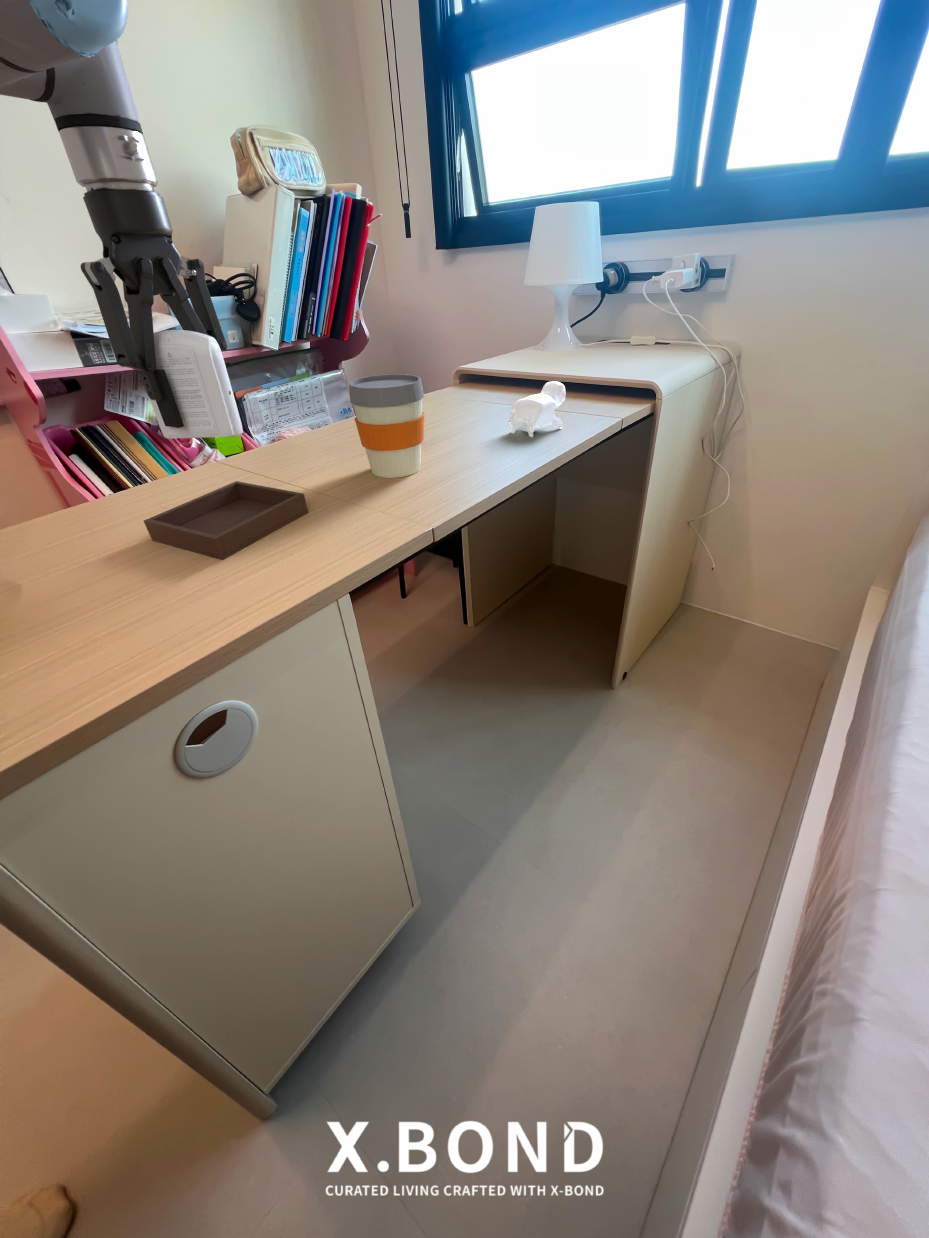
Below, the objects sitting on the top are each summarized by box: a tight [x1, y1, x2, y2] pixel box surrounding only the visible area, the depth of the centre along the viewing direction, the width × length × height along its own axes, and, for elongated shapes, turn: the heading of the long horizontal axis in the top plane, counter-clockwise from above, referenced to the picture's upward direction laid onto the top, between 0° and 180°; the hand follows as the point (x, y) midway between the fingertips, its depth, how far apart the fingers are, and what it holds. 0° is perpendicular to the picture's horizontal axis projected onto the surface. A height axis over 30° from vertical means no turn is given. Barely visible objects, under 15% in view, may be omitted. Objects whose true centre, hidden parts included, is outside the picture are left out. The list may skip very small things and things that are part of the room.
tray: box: [143, 480, 309, 561], centre depth 74 cm, size 17×15×3 cm
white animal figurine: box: [507, 380, 567, 438], centre depth 109 cm, size 9×8×15 cm
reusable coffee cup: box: [348, 373, 425, 479], centre depth 89 cm, size 12×13×15 cm
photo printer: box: [148, 329, 244, 440], centre depth 64 cm, size 10×4×12 cm, turn 90°
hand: (197, 419), depth 66 cm, fingers closed on photo printer, 6 cm apart
